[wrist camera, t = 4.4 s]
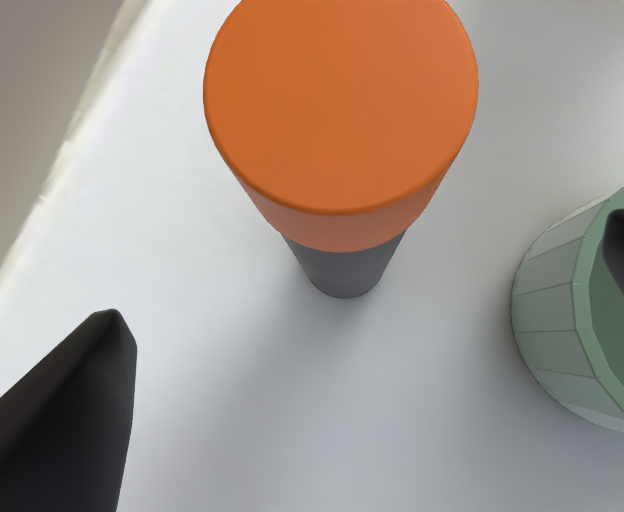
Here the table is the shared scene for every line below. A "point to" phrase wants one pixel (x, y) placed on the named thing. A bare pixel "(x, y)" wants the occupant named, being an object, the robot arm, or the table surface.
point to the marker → (340, 122)
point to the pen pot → (574, 315)
